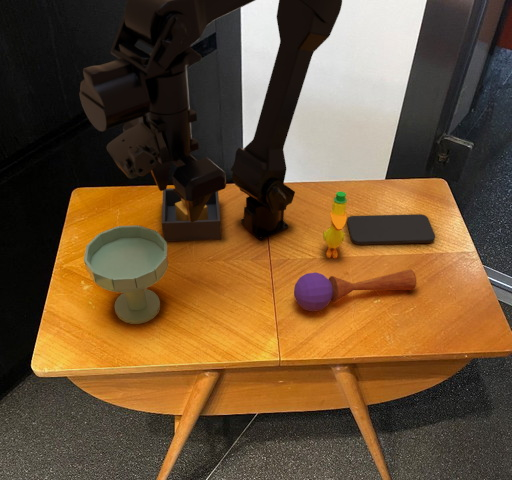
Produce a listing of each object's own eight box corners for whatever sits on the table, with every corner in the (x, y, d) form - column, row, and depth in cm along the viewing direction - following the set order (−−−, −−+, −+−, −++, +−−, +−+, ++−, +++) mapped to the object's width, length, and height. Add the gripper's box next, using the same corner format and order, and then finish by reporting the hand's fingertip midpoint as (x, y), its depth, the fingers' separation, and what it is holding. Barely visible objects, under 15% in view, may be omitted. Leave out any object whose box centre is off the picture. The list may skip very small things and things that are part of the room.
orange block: (196, 210, 101) (194, 181, 96) (208, 222, 99) (206, 193, 94) (176, 218, 99) (173, 189, 95) (187, 230, 97) (184, 201, 93)
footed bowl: (152, 272, 91) (143, 216, 82) (187, 314, 85) (181, 258, 76) (88, 300, 87) (71, 243, 78) (121, 346, 81) (106, 290, 72)
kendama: (425, 283, 85) (304, 299, 80) (410, 304, 90) (296, 320, 85) (411, 253, 88) (293, 266, 83) (397, 276, 93) (286, 289, 88)
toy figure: (342, 268, 93) (354, 210, 83) (321, 267, 93) (330, 209, 83) (340, 242, 97) (351, 184, 88) (320, 241, 97) (328, 183, 88)
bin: (218, 204, 103) (217, 186, 100) (221, 239, 97) (220, 221, 94) (165, 206, 102) (162, 188, 99) (164, 241, 96) (161, 223, 93)
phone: (346, 215, 101) (426, 213, 101) (345, 219, 101) (425, 217, 102) (353, 242, 96) (437, 239, 96) (352, 245, 96) (435, 243, 97)
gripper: (77, 90, 71) (101, 191, 83) (145, 156, 62) (160, 260, 74) (153, 69, 76) (165, 169, 88) (227, 128, 66) (229, 231, 78)
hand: (177, 205), depth 82 cm, fingers open, 9 cm apart
